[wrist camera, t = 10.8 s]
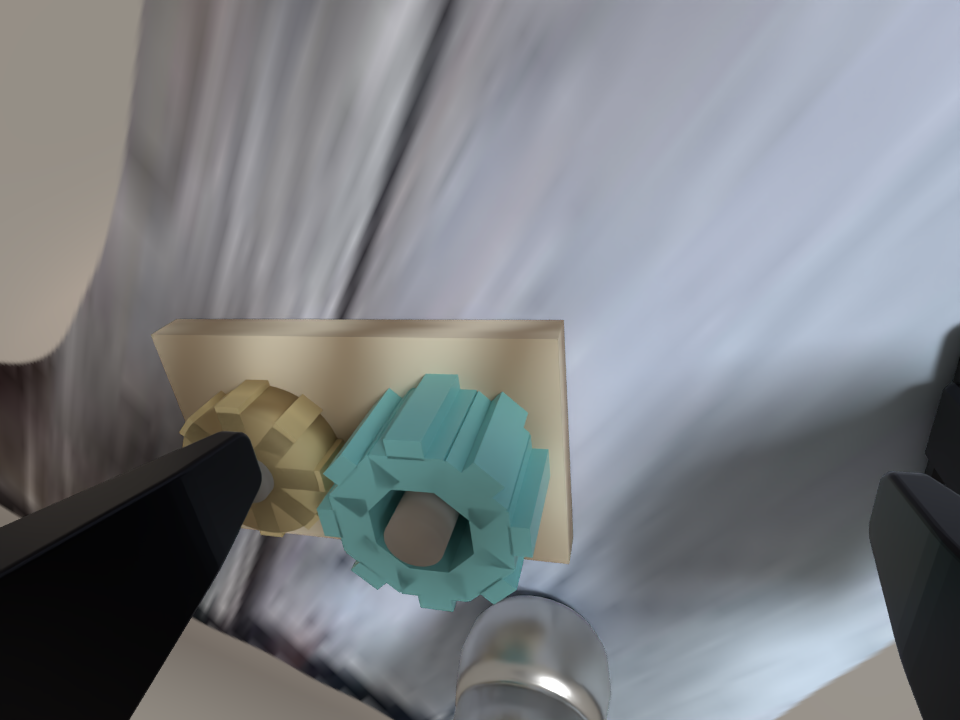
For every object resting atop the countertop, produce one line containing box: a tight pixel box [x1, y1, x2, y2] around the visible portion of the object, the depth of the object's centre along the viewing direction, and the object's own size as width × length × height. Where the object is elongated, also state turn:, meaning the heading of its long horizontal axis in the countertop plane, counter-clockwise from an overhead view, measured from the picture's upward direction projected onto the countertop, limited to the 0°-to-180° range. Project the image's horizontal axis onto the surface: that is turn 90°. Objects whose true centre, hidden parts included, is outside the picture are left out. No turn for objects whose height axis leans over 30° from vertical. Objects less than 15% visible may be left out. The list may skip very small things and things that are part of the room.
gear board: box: [151, 319, 573, 567], centre depth 22 cm, size 16×10×6 cm, turn 96°
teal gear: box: [317, 374, 550, 612], centre depth 21 cm, size 7×7×4 cm
